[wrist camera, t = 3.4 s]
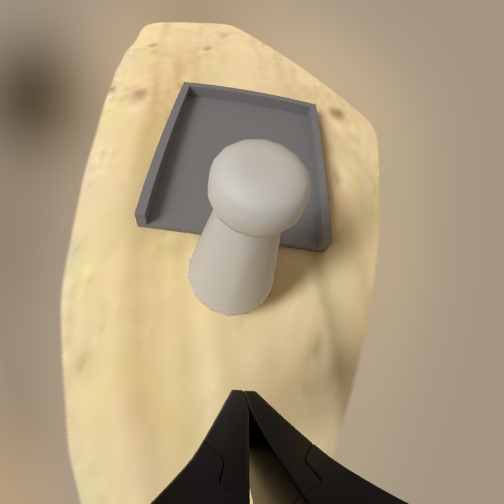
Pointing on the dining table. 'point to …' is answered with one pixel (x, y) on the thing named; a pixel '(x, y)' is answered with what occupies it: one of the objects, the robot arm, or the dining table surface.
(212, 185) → the salt shaker
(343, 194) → the dining table surface
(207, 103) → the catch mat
